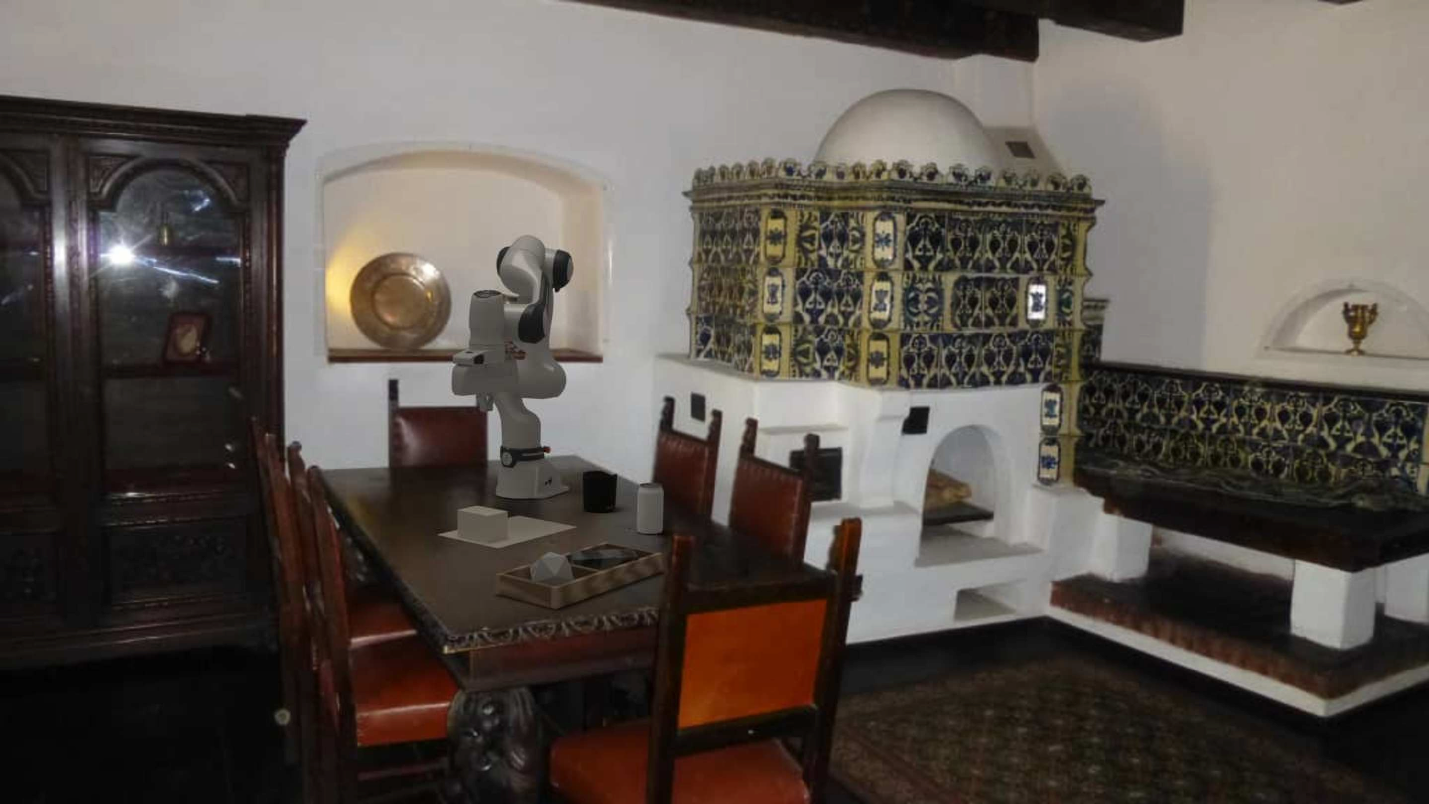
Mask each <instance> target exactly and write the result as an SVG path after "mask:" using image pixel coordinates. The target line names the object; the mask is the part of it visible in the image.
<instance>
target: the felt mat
mask: <svg viewBox="0 0 1429 804" xmlns="http://www.w3.org/2000/svg"><path fill="white" fill-rule="evenodd" d="M575 528H577V526H574V525H569V524H564V523H559V522H553V521H547V520H543V519H538V518H534V517H529V516H528V517H527V516H523V515H516V516H511V517H508V525H507V538H506V539H502V540H498V541H495V542H491V543H484V542H480V541H475V540H471V539H466V538H461V537H457V529H456V530H451V531H447V532H443V533H439V534H437V536H440V537H445V538H448V539H449V538H450V539H454V540H458V541H462V542H463V541H464V542H467V543H472V544H476V545H481V546H486V547H489V548H495V549H501V548H505V547H507V546H512V545H516V544H520V543H522V542H523V543H524V542H527V541H530V540H536V539H537V538H542V537H545V536H549V535H552V534H557V533H561V532H565V531H568V530H572V529H575Z"/></svg>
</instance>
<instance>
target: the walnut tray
mask: <svg viewBox="0 0 1429 804" xmlns="http://www.w3.org/2000/svg"><path fill="white" fill-rule="evenodd" d="M592 548H593V549H595V550H609V549H626V548H632V549H633V550H634V551H635V553H636V554H637V555H638V560H636V561H631V562H628V563H625V564H622V565H618V566H615V567H612V568H609V569H606V570H603V571H602V570H597V569H592V568H588V567H583V566H579V565H574V564H570V551H569V552H566V553H562V554H561V555H563V556H566V558H567V560H568V562H569V564H570V566H571V570H572V574H573V578H574V580H573V581H570V582H567V583H563V584H560V585H557V586H553V585H549V584H545V583H540V582H536V581H532V577H531V572H530V567H531V566H532V565H533V564H534V563H535V562H531V563H528V564H525V565H521V566H519V567H515V568H511V569H508V570H505V571H502V572H498V573H495V574H494V575H495V576H494V578H495V579H494V580H495V581H494V583H495V584H494V594H495V595H498V596H503V597H507V598H510V599H514V600H519V601H523V602H525V603H526V602H528V603H530V604H534V605H539V606H542V607H546V608H551V609H554V610H558V609H560V608H563V607H565V606H568V605H572V604H575V603H578V602H579V601H580V602H581V601H583V600H585V599H588V598H591V597H594V596H596V595H597V596H598V595H599V594H602V593H605V592H608V591H612V590H614V589H617V588H620V587H622V586H624V585H628V584H631V583H633V582H636V581H639V580H642V579H644V578H648V577H651V576H653V575H657V574H659V573H662V572H663V561H664V560H663V558H664V554H663V552H659V551H653V550H648V549H643V548H638V547H633V546H628V545H623V544H619V543H613V542H608V541H603V542H600V543H597V544H593V545H590V546H587V547H583V548H580V549H576V550H575V551H580V550H591V549H592Z"/></svg>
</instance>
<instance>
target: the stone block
mask: <svg viewBox="0 0 1429 804" xmlns="http://www.w3.org/2000/svg"><path fill="white" fill-rule="evenodd" d="M569 552H570V564H574V565H579V566H583V567H588V568H592V569H597V570H602V571H603V570H606V569H609V568H612V567H615V566H618V565H622V564H625V563H628V562H631V561H636V560H638V555H637V554H636V553H635V551H634V550H633V549H632V548H626V549H609V550H595V549H593V548H592V549H591V550H580V551H576V550H570V551H569Z"/></svg>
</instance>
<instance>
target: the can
mask: <svg viewBox="0 0 1429 804" xmlns="http://www.w3.org/2000/svg"><path fill="white" fill-rule="evenodd" d="M664 497H665V496H664V489H663V485H662V483H658V482H644V483H643V482H642V483H640V484H639V488H638V489H637V504H636V507H637V508H636V509H637V510H636V531H637V533H638V532H639V533H638V534H642V535H646V534H655V535H658V534H657V533H660V534H662V532H663V530H664V529H663V527H664V526H663V523H664Z"/></svg>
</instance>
